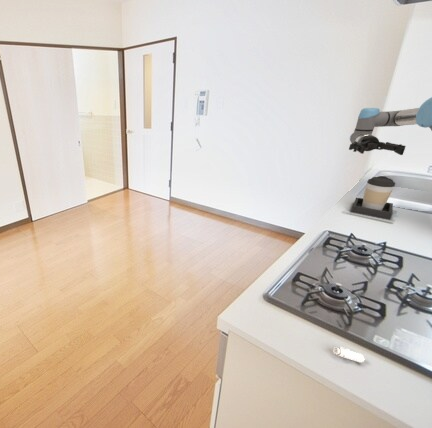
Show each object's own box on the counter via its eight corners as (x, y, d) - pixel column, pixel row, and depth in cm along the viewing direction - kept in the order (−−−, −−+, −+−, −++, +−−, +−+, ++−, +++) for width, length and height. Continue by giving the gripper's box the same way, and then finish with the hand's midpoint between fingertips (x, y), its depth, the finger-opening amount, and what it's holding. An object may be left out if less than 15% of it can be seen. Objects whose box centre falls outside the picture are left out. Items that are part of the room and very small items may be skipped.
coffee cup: (384, 215, 121) (397, 182, 115) (357, 210, 127) (368, 179, 121) (384, 208, 127) (397, 177, 121) (359, 204, 133) (369, 174, 127)
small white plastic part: (365, 373, 59) (370, 363, 58) (330, 357, 63) (334, 347, 62) (366, 361, 62) (371, 351, 60) (332, 346, 65) (336, 337, 64)
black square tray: (390, 209, 127) (392, 203, 126) (389, 219, 119) (392, 213, 118) (354, 203, 136) (356, 197, 134) (350, 212, 127) (353, 205, 126)
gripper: (396, 150, 139) (416, 161, 121) (334, 148, 149) (345, 158, 131) (401, 135, 135) (423, 143, 118) (338, 134, 145) (350, 142, 128)
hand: (382, 151), depth 125 cm, fingers open, 13 cm apart
